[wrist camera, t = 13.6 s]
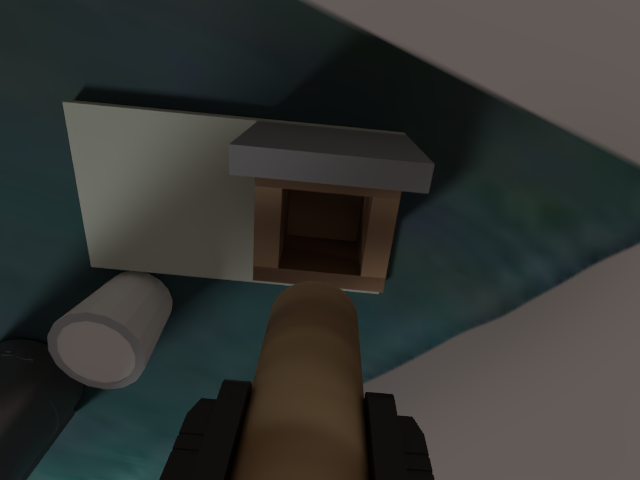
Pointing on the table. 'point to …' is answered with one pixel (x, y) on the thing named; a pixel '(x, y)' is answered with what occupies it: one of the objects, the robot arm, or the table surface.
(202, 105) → the table surface
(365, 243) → the wooden open box
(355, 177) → the wall
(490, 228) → the table surface
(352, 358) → the dowel
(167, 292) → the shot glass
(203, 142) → the board
